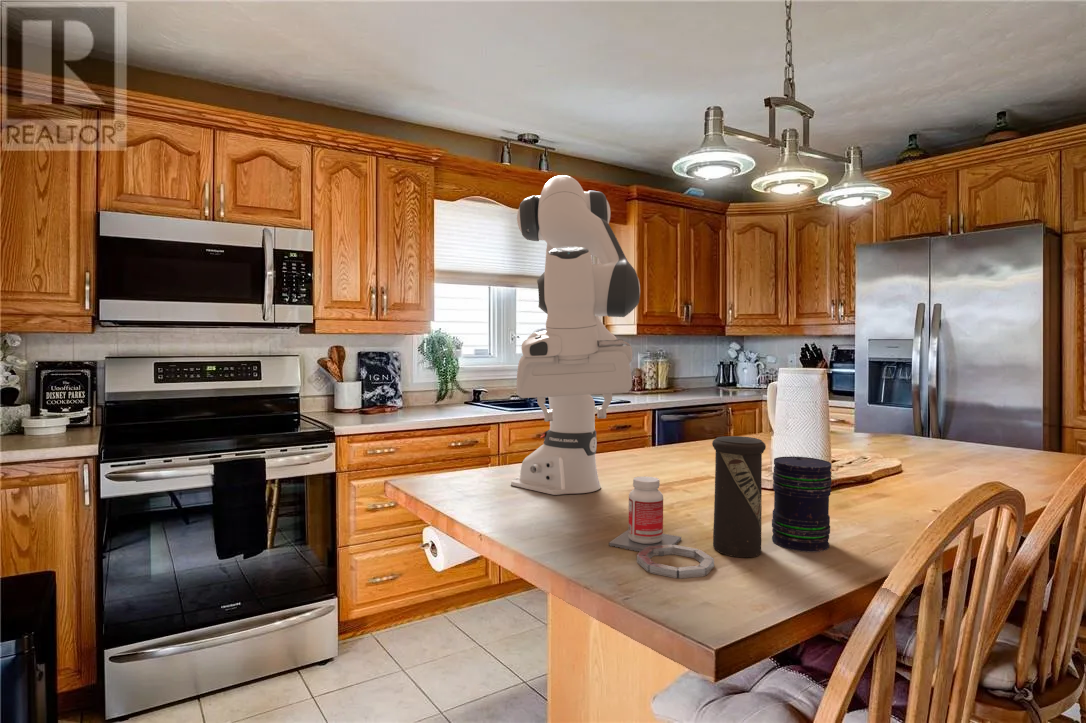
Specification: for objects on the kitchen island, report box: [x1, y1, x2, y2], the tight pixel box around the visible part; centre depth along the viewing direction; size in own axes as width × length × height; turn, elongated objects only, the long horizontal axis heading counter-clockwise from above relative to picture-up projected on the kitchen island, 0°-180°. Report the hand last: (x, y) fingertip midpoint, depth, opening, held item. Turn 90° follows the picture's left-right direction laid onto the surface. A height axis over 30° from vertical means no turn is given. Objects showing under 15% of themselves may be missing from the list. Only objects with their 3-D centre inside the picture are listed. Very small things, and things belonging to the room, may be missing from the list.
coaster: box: [608, 528, 682, 557], centre depth 113 cm, size 10×10×1 cm
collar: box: [636, 544, 715, 579], centre depth 102 cm, size 12×12×1 cm
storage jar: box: [771, 456, 832, 553], centre depth 113 cm, size 10×10×15 cm
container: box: [711, 435, 767, 558], centre depth 109 cm, size 9×9×20 cm
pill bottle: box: [628, 476, 664, 544], centre depth 113 cm, size 6×6×11 cm
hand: (575, 419), depth 110 cm, fingers open, 8 cm apart
